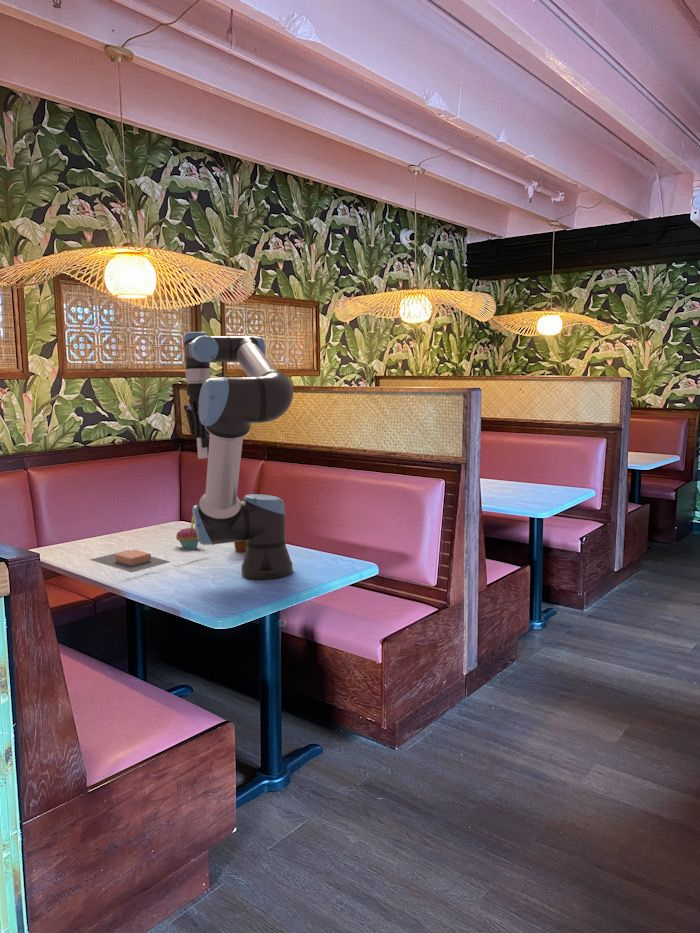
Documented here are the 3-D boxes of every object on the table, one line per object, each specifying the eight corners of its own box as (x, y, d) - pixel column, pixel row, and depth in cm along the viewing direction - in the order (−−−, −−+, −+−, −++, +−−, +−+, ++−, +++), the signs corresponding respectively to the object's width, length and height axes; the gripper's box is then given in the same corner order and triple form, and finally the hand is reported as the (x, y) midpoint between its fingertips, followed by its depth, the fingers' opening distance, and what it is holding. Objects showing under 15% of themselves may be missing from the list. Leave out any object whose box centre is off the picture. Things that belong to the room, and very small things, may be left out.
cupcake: (204, 545, 240) (203, 511, 238) (199, 551, 231) (197, 516, 230) (180, 545, 240) (178, 511, 238) (173, 552, 231) (171, 517, 230)
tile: (135, 556, 222) (151, 561, 216) (115, 561, 217) (131, 566, 211) (134, 549, 222) (150, 553, 216) (114, 554, 217) (130, 558, 211)
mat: (171, 564, 216) (171, 561, 216) (131, 575, 205) (131, 572, 205) (128, 553, 231) (128, 550, 231) (89, 562, 220) (89, 559, 220)
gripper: (222, 382, 213) (225, 457, 216) (194, 383, 221) (198, 456, 224) (203, 382, 207) (207, 460, 210) (175, 383, 215) (179, 458, 218)
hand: (202, 458), depth 217 cm, fingers closed
